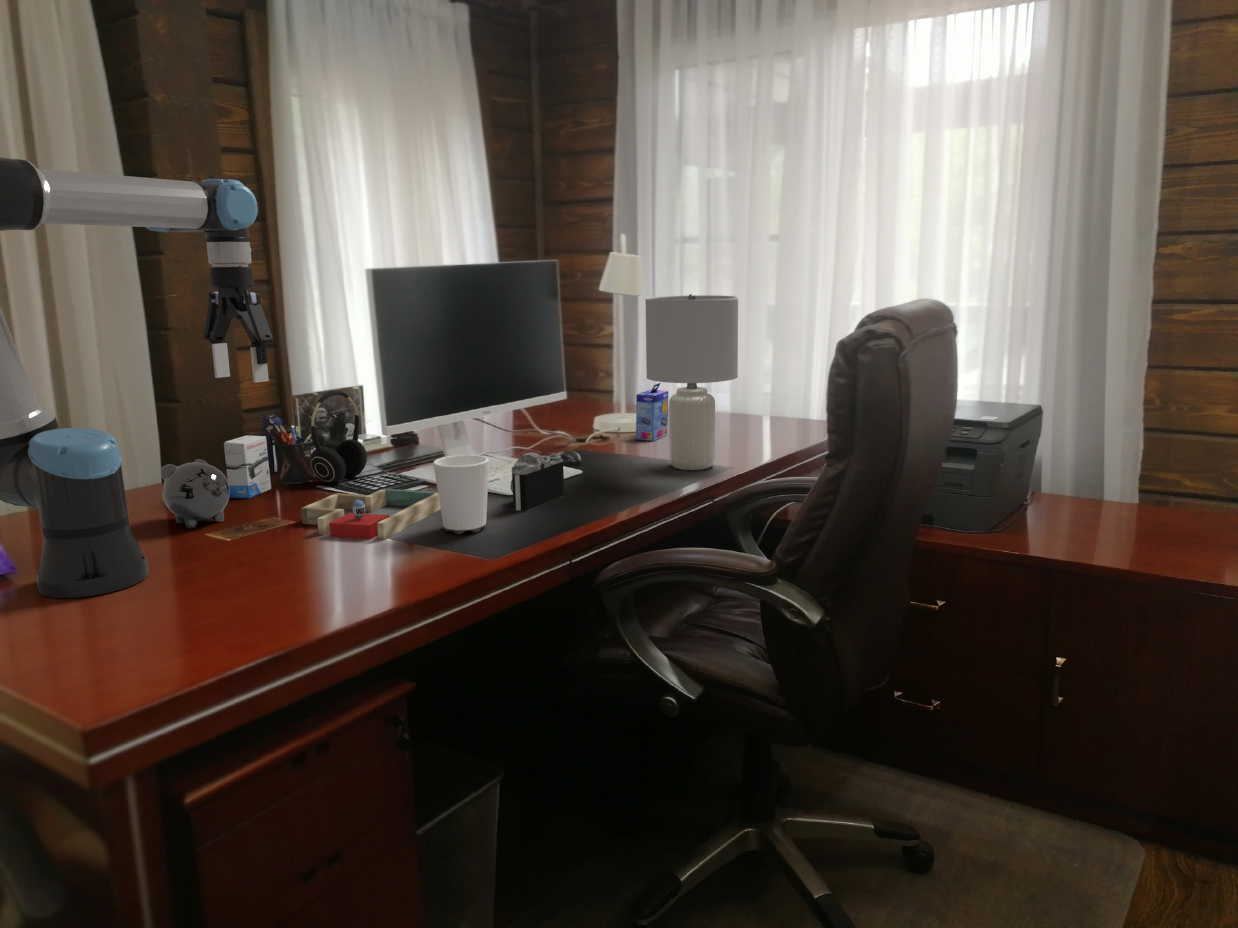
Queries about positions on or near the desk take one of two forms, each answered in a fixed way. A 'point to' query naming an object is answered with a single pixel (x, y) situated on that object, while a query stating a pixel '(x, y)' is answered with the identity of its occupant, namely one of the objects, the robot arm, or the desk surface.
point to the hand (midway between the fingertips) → (241, 379)
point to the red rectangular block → (356, 523)
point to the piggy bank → (195, 492)
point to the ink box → (247, 466)
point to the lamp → (692, 367)
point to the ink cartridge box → (651, 414)
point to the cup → (462, 491)
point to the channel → (343, 504)
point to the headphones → (338, 451)
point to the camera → (536, 480)
